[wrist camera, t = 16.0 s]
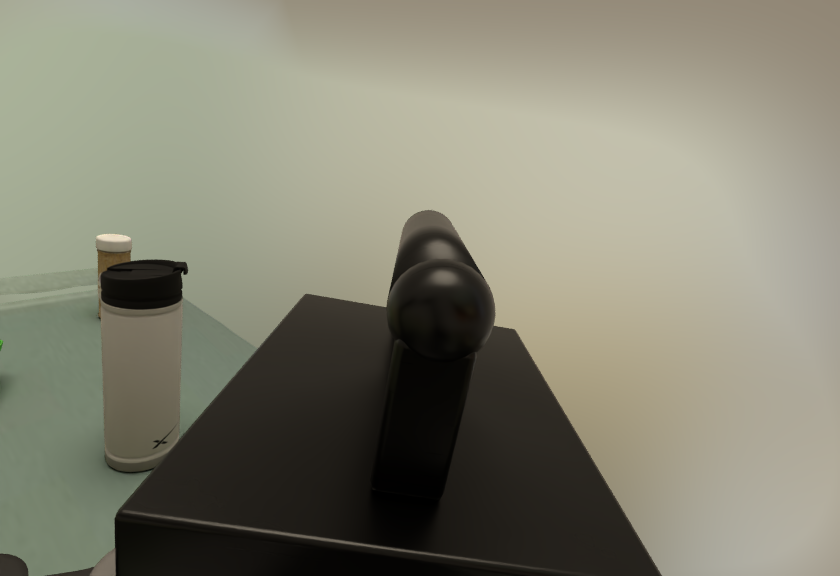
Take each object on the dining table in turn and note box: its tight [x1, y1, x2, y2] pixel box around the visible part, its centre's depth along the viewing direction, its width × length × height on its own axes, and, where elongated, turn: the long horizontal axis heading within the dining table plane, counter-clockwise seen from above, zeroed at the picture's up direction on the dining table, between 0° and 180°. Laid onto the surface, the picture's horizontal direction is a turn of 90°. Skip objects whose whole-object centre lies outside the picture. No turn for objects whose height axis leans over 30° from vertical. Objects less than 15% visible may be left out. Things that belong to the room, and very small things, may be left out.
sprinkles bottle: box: [96, 234, 132, 318], centre depth 68 cm, size 5×5×13 cm
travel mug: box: [100, 260, 188, 472], centre depth 40 cm, size 6×7×20 cm
